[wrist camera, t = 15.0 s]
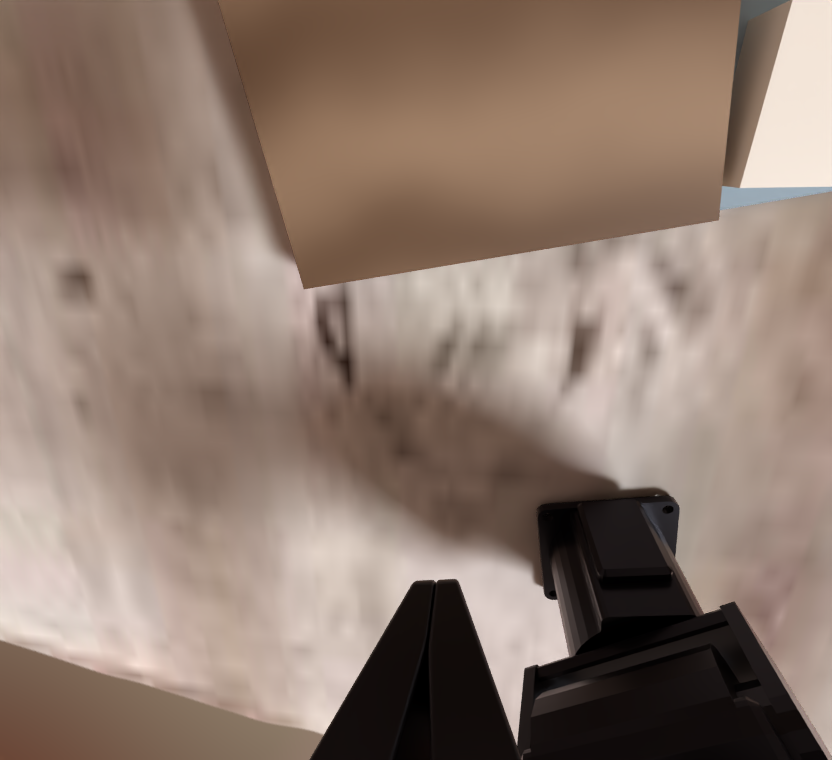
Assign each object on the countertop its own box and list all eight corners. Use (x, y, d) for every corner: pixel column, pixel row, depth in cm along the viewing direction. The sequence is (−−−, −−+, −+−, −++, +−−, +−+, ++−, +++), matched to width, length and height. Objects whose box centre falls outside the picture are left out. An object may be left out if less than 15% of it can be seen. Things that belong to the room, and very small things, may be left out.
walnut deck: (690, 212, 16) (718, 220, 14) (319, 276, 18) (304, 289, 16) (734, -377, 10) (791, -489, 8) (194, -173, 13) (149, -227, 11)
